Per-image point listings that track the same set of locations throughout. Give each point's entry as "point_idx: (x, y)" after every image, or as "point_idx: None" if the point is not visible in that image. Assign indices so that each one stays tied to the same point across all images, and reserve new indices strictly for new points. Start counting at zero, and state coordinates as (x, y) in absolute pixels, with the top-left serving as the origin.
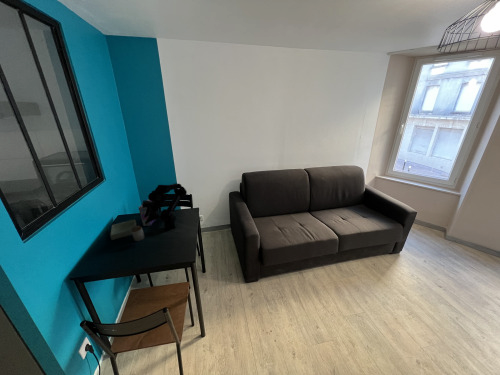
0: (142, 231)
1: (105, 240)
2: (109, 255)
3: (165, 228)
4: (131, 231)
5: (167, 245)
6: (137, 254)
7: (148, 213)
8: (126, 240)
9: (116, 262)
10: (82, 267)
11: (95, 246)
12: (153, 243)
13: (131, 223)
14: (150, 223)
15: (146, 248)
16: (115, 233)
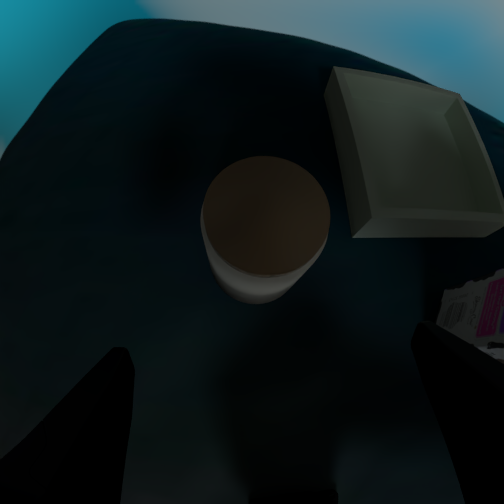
0: (244, 288)
1: None
2: (146, 95)
3: (276, 500)
4: (358, 190)
5: None
6: (37, 246)
7: (462, 424)
8: None
9: (53, 140)
10: (135, 33)
11: (292, 43)
12: None
13: (482, 202)
14: None
15: (62, 309)
16: (391, 110)
